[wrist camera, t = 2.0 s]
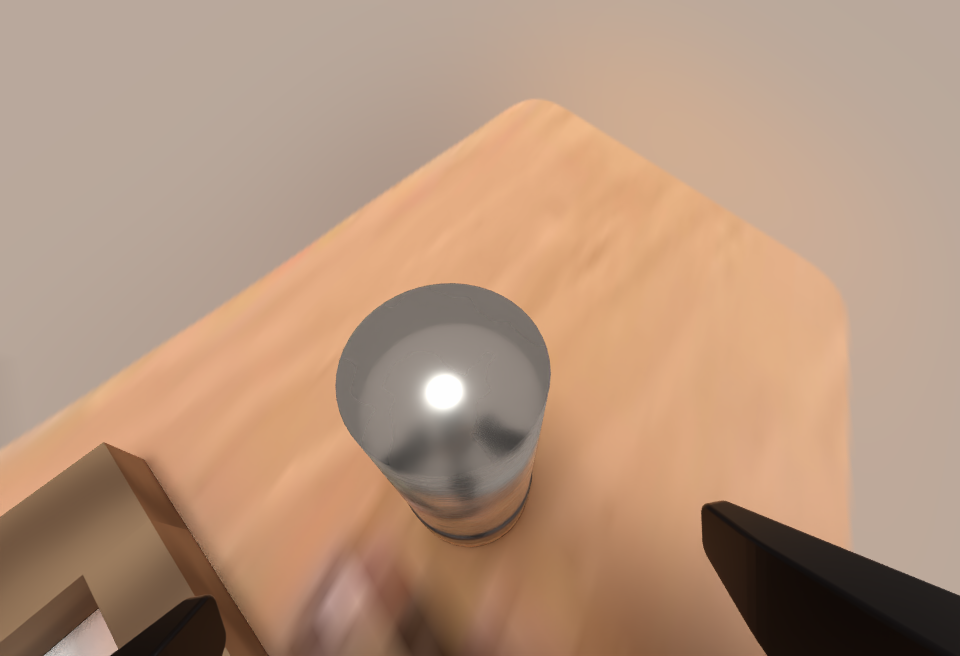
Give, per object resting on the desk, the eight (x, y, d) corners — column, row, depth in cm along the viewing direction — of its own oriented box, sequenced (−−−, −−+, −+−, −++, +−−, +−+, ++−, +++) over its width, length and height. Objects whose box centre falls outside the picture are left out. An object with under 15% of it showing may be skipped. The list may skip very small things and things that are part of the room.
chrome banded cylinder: (550, 513, 19) (596, 414, 10) (439, 571, 18) (371, 523, 8) (496, 411, 21) (493, 256, 12) (397, 457, 20) (311, 326, 11)
